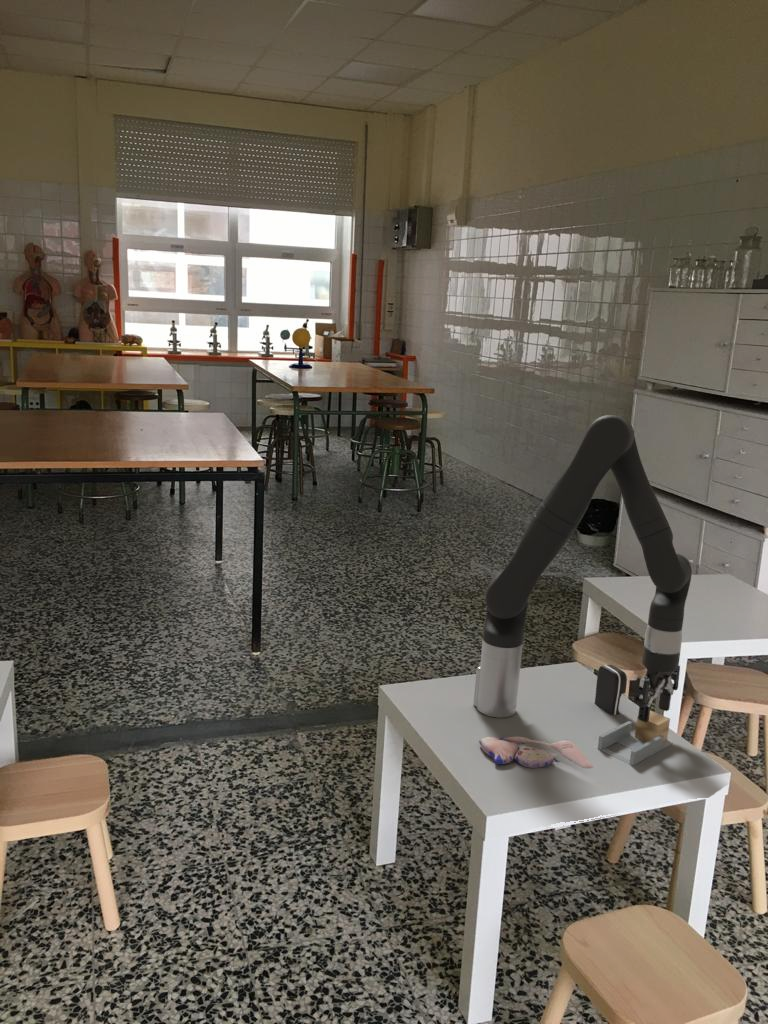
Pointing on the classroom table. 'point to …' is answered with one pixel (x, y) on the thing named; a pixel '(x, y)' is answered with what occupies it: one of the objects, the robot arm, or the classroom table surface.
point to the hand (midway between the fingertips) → (653, 715)
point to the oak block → (652, 727)
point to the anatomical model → (531, 752)
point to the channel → (631, 743)
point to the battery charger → (610, 688)
